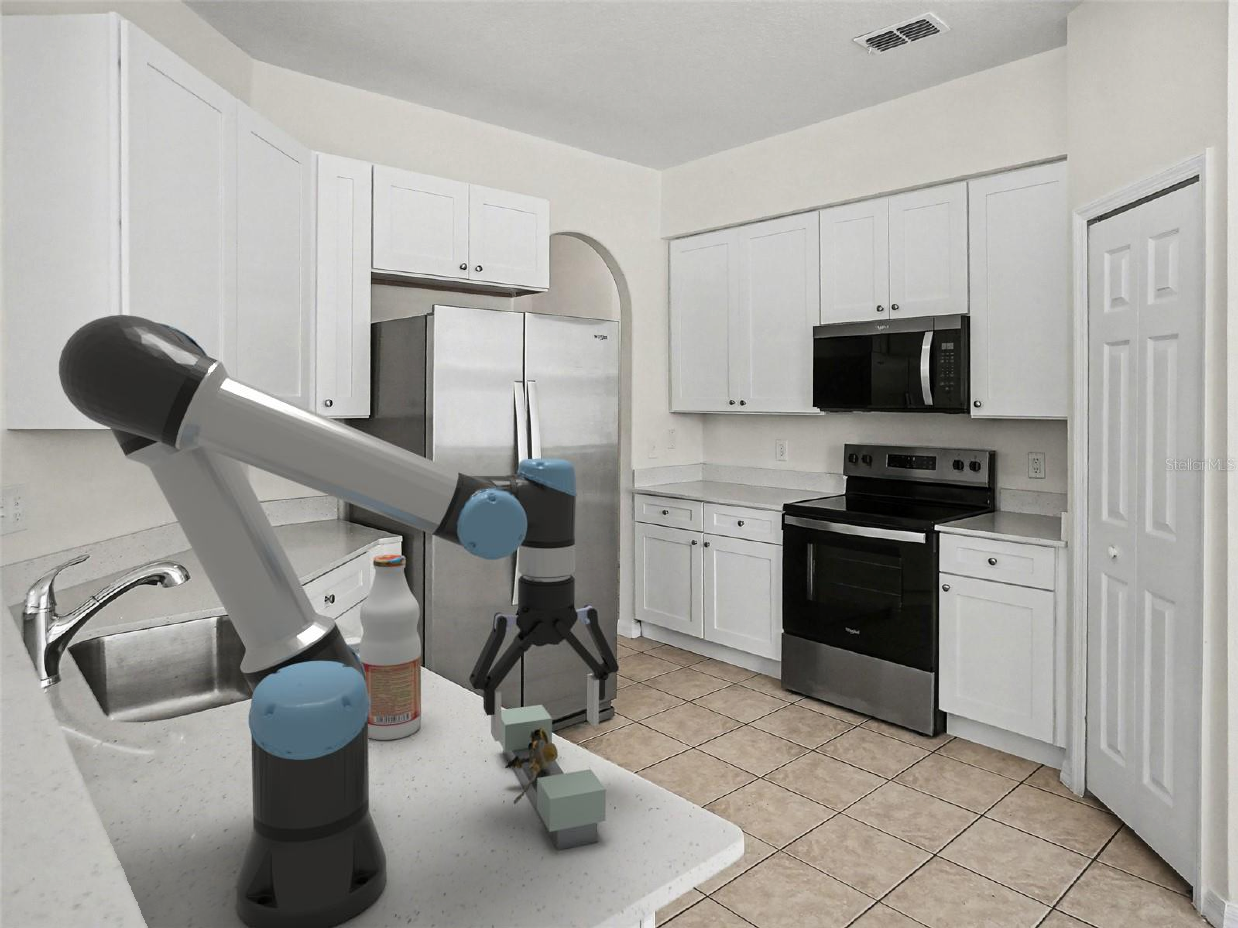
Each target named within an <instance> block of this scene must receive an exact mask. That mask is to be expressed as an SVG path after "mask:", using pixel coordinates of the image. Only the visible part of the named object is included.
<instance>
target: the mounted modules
mask: <svg viewBox="0 0 1238 928" xmlns="http://www.w3.org/2000/svg"><path fill="white" fill-rule="evenodd" d="M540 728H542V729H544V731H545V732H546V734H547V737H548V741H549V744H550V743H553V718H552V716H551V715H550V713H549V712H548V711H547V710H546V709H545V707H544V706H543V705H542V704H537V705H536V704H535V705H530V706H523V707H515V708H507V709H501V741H498V742H499V743H500V745H501V747H502V750H503V749H504V751H505V752H507V751H513V750H520V749H526V748H528V745H529V743H532V739H531V738H530V736H531V732H532V731H533V732H535V731H534V730H538V729H540ZM606 790H607V789H606V788H605V786H604V785H603V783H602V782H601V781H600V780H599V778H598V776H596V774H595V773H594V771H592V769H584V770H578V771H571V772H566V773H564V774H559V775H553V776H547V777H541V778H537V810H538V812H539V813H540V815H541V817H542V819H543V821H544V822H545V824H546V826H547V828H548V830H549V831H550V832H551V831H556V830H561V829H567V828H572V827H577V826H582V825H587V824H592V823H601V822H605V821H606V808H607V807H606V803H607V802H606V801H607V800H606V795H607V793H606Z"/></svg>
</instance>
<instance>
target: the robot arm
mask: <svg viewBox="0 0 1238 928" xmlns="http://www.w3.org/2000/svg"><path fill="white" fill-rule="evenodd" d="M60 353H61V354H60V356H59V357H60V358H59V361H58V375H59V381H60V385H61V388H62V390H63V393H64V394H65V396H66V397H67V399H68V400H69V402H70V403H71V404H72V405H73V406H74V407H75V408H76V409H77V411H79V412H80V413H81V414H82V415H84V416H85V417H86V418H88V419H90V420H91V421H93V422H95V423H97V424H99V425H102V426H104V427H107V428H109V429H110V430H111V432H112V434H113V436H114V438H115V439H116V441H117V443H118V445H119V447H120V449H121V450H122V452H123V455H124V456H125V457H126V459H127V460H131V461H133V462H136V463H140V464H143V465H145V466H147V467H148V468H149V470H150V472H151V473H152V475H153V477H154V479H155V481H156V483H157V485H158V486H159V488H160V490H161V492H162V494H163V496H164V498H165V500H166V501H167V504H168V505H169V507H170V509H171V510H172V513H173V515H174V517H175V518H176V520H177V522H178V523H179V525H180V528H181V529H182V531H183V533H184V535H185V538H186V539H187V541H188V543H189V544H190V547H191V548H192V550H193V552H194V553H195V556H196V557H197V559H198V561H199V563H200V565H201V567H202V569H203V570H204V572H205V575H206V576H207V578H208V579H209V580H208V581H209V582H210V583H211V585H212V587H213V589H214V591H215V593H216V595H217V597H218V599H219V601H220V602H221V605H222V607H223V608H224V610H225V613H227V615H228V618H229V619H230V621H231V623H232V625H233V627H234V629H235V631H236V632H237V634H238V636H239V638H240V640H241V642H242V643H243V645H244V646H243V647H245V653H244V656H243V659H242V661H241V663H240V667H239V669H240V670H241V672H242V674H243V676H244V679H245V680H246V682H247V684H248V686H249V688H250V689H251V692H252V695H251V699H250V700H251V702H250V707H249V713H248V727H249V730H250V731H249V732H250V735H251V738H250V739H251V777H252V778H251V779H252V784H251V785H252V813H253V814H252V819H253V820H252V823H253V825H252V827H253V829H252V830H253V831H252V834H251V837H250V840H249V843H248V846H247V849H246V852H245V855H244V859H243V862H242V865H241V867H240V872H239V874H238V877H237V881H236V886H235V887H236V891H235V892H236V911H237V914H238V915H239V917H240V919H241V920H242V921H243V922H244V923H245V924H246V925H247V926H249V927H251V926H252V927H251V928H253V927H255V928H331V927H334V926H336V925H339V924H341V923H344V922H345V921H347V920H350V919H352V918H353V917H355V916H357V915H358V914H360V913H361V912H364V910H365V909H367V908H368V907H369V906H371V905H372V904H373V903H374V902H375V901H376V899H378V897H379V896H380V895H381V894H382V892H383V890H384V888H385V885H386V882H387V855H386V853H385V849H384V845H383V844H382V842H381V838H380V836H379V834H378V831H377V829H376V828H377V827H376V826H375V825H376V824H375V823H374V820H373V817H372V814H371V813H370V798H369V797H370V787H369V785H370V781H369V778H370V776H369V774H370V773H369V772H370V770H369V766H370V765H369V764H370V763H369V737H368V714H369V709H370V701H369V695H368V692H367V682H366V678H365V677H366V674H365V670H364V667H363V664H362V662H361V660H360V658H359V657H358V655H357V654H356V653H355V652H354V650H353V649H352V648H351V647H350V646H348V645H347V644H346V642H345V640H344V639H345V638H344V636H343V634H342V633H341V630H340V629H339V627H338V625H337V623H336V621H335V619H334V618H333V617H330V616H325V615H321V614H320V613H317V612H316V610H315V608H314V607H313V604H312V603H311V600H310V598H309V597H308V595H307V593H306V590H305V588H304V587H303V585H302V583H301V580H300V579H299V577H298V575H297V573H296V571H295V569H294V567H293V566H292V565H293V564H292V563H291V561H290V560H289V558H288V557H289V556H288V555H287V554H286V552H285V549H284V548H283V546H282V543H281V542H280V540H279V538H278V536H277V534H276V532H275V530H274V528H273V526H272V524H271V523H270V520H269V518H268V516H267V515H266V512H265V510H264V509H263V506H262V504H261V502H260V500H259V498H258V497H257V495H256V492H255V490H254V488H253V487H252V484H251V482H250V480H249V479H248V476H247V474H246V473H245V471H244V469H243V467H242V464H241V463H244V464H246V465H249V466H252V467H254V468H256V469H259V470H262V471H265V472H267V473H269V474H272V475H275V476H278V477H281V478H283V479H286V480H289V481H291V482H293V483H296V484H299V485H301V486H303V487H307V488H309V489H312V490H314V491H317V492H320V493H323V494H324V495H329V496H331V497H334V498H336V499H339V500H341V501H344V502H347V503H349V504H352V505H354V506H356V507H359V508H362V509H365V510H367V511H369V512H372V513H376V514H379V515H381V516H384V517H386V518H387V519H388V518H389V519H391V520H394V521H397V522H399V523H402V524H404V525H407V526H410V527H412V528H415V529H418V530H420V531H423V532H425V533H428V534H430V535H431V536H436V537H438V538H439V539H443V540H445V541H447V542H450V543H453V544H455V545H458V546H461V547H463V549H464V550H466V551H467V552H468V553H469V554H471V555H473V556H476V557H478V558H480V559H484V560H489V561H490V560H491V561H494V560H500V559H503V558H506V557H508V556H511V555H512V554H514V553H515V552H516V551H517V550H518V561H517V562H518V567H517V568H518V570H517V571H518V573H519V574H520V575H521V576H519V578H518V579H517V611H516V613H515V615H514V614H503V613H501V612H496V613H494V615H493V623H492V629H491V632H490V633H489V636H488V638H487V640H486V642H485V644H484V646H483V648H482V650H481V652H480V655H479V656H478V659H477V660H476V662H475V665H474V667H473V670H472V671H471V674H470V676H469V678H468V680H469V683H470V684H471V686H472V688H473V689H474V690H482V691H483V693H482V694H483V705H482V706H483V710H484V713H485V715H486V716H490V734H491V736H492V737H493V740H494V741H495V742H499V741H501V710H502V691H501V690H500V687H499V686H500V684H501V683H502V682H503V681H504V679H505V678H506V677H507V676H508V674H509V673H510V672H511V670H512V669H513V668H514V666H515V665H516V664H517V662H518V661H519V660H520V659H521V658H522V656H523V655H524V654H525V652H528V650H530V648H531V647H532V645H533V646H536V647H544V646H546V645H553V646H556V645H557V646H558V645H560V644H561V643H562V642H563V641H565V642H566V643H567V644H568V645H569V646H570V648H572V649H573V651H574V652H575V653H576V654H577V655H578V656H579V657H580V659H581V660H582V661H583V662H584V663H585V664H586V666H588V668H590V670H591V671H592V672H593V673H587V675H586V678H587V680H586V681H587V682H586V684H587V685H586V720H587V722H588V723H589V724H590V725H591V727H593V728H597V727H599V722H600V721H599V720H600V719H599V712H600V711H599V710H600V708H599V707H600V702H599V701H603V700H605V698H606V681H607V680H608V679H609V675H610V674H613V673H614V674H615V673H618V671H619V670H620V669H619V668H620V667H619V664H618V662H617V660H616V657H615V656H614V653H613V652H612V650H611V647H610V645H609V643H608V641H607V640H606V637H605V636H604V633H603V632H602V629H601V627H600V625H599V618H598V617H599V616H598V611H597V610H596V608H594V607H593V606H592V605H590V604H585V605H584V606H583V608H577V609H576V608H575V599H576V598H575V597H576V596H575V595H576V594H575V593H576V592H575V590H576V588H575V586H576V584H575V583H576V580H575V579H576V578H575V577H574V576H573V574H574V573H575V571H576V538H575V537H576V536H575V535H576V506H577V505H576V504H577V496H578V494H577V488H576V487H577V484H576V483H577V482H576V472H575V471H576V470H575V466H574V465H573V463H572V462H571V461H569V460H567V459H562V458H561V459H560V458H526V459H522V460H521V461H519V463H518V469H517V471H516V472H517V473H516V474H510V475H509V474H508V475H507V474H506V475H467V474H464V473H461V472H459V471H457V470H455V469H452V468H450V467H447V466H445V465H443V464H441V463H438V462H435V461H433V460H431V459H429V458H426V457H425V456H422V455H419V454H416V453H414V452H412V451H409V450H407V449H405V448H403V447H399V446H398V445H395V444H392V443H391V442H388V441H385V440H382V439H381V438H378V437H375V436H374V435H371V434H369V433H367V432H363V431H361V430H359V429H356V428H354V427H352V426H350V425H347V424H345V423H343V422H340V421H338V420H335V419H332V418H330V417H328V416H325V415H323V414H321V413H319V412H316V411H313V410H311V409H310V408H306V407H305V406H301V405H299V404H297V403H295V402H292V401H289V400H288V399H285V398H282V397H280V396H278V395H275V394H272V393H270V392H268V391H266V390H263V389H261V388H258V387H256V386H253V385H251V384H249V383H247V382H244V381H241V380H239V379H236V378H234V377H232V376H230V375H229V374H228V371H227V370H226V368H225V366H224V363H223V362H222V361H220V360H218V359H216V358H212V357H211V356H208V355H207V352H206V351H205V349H204V348H203V347H201V346H200V345H199V344H198V342H197V341H196V340H195V339H193V338H192V337H191V336H190V335H188V333H185V332H184V331H181V330H180V329H178V328H176V327H174V326H170V325H168V324H164V323H160V322H155V321H153V320H151V319H147V318H144V317H141V316H135V315H128V314H127V315H126V314H117V315H114V314H113V315H108V316H104V317H100V318H97V319H93V320H91V321H89V322H88V323H87V322H86V323H85V324H84V325H83V326H81V327H80V328H79V329H77V330H76V331H75V332H74V333H73V334H72V335H71V336H70V337H69V338H68V340H67V341H66V343H65V345H64V347H63V349H62V350H61V352H60ZM240 462H241V463H240ZM578 619H579V620H580V622H581V623H582V624H584V625H585V626H586V629H587V631H588V633H589V635H590V637H591V639H592V641H593V643H594V645H595V647H596V649H597V651H598V654H599V656H600V658H601V661H602V663H599V662H598V661H597V660H596V658H595V657H594V656H593V655H592V654H591V653H590V652H589V651H588V650H587V648H586V647H585V646H584V645H583V643H581V641H580V640H579V639H578V638H577V636H576V635H575V634H574V633H573V632H572V631H571V630H572V629H573V626H575V624H576V622H577V621H578ZM515 625H516V627H517V628H518V629H519V631H518V633H516V635H515V637H513V640H512V643H510V645H509V646H508V647H507V648H506V650H505V651H504V653H503V654H502V655H501V657H500V658H499V659H498V661H497V662H496V663H495V665H494V666H492V665H493V664H494V661H495V659H496V656H497V655H498V653H499V651H500V649H501V646H502V644H503V642H504V640H505V637H506V634H507V633H508V632H510V631H511V628H512V627H513V626H515ZM491 667H492V668H491ZM490 669H491V670H490Z"/></svg>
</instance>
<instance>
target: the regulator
mask: <svg viewBox="0 0 1238 928" xmlns="http://www.w3.org/2000/svg"><path fill="white" fill-rule="evenodd" d="M534 731H535V732H533V731H532V732H531V736H530V738H531V739H532V743H529V745H528V749H529V756H528V757H527V758H522V759H520V758H519V757H518V755H517V756H516V757H515V758H514V759H513V760H512V761H508V762H507V764H506V765H505V767H504V769H509V768H512V767H511V766H513V767H514V768H515V767H517V768H518V769H521V768H522V764H524V763H525V762H530V763H532V764H531V765H530V771H531V773H532V774H531V778H530V782H529V784H528V785H527V787H526V788H525V790H524V789H523V791H522V792H521V793H520V794H519V795H517V796H516V797H515V799H514V800H513V804H514V805H515V804H517V803H518V802H519V801H521V799H522V797H523V796H524V795H525V793H526V791H527V790H528V789H529V788H530V784H531V782H533V781H534V780H535V777H536V774H537V773H538V772H539V771H540V770H542V769H544V770H546V769H548V768H549V766H550V763H551V761H554V760H555V761H556V760H557V759H558V756H559V755H558V749H557V746H556V744H554V743H553V742H552V743H550V744H549V741H548V737H547V734H546V732H545V731H544V729H542V728H540V729H538V730H534Z"/></svg>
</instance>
